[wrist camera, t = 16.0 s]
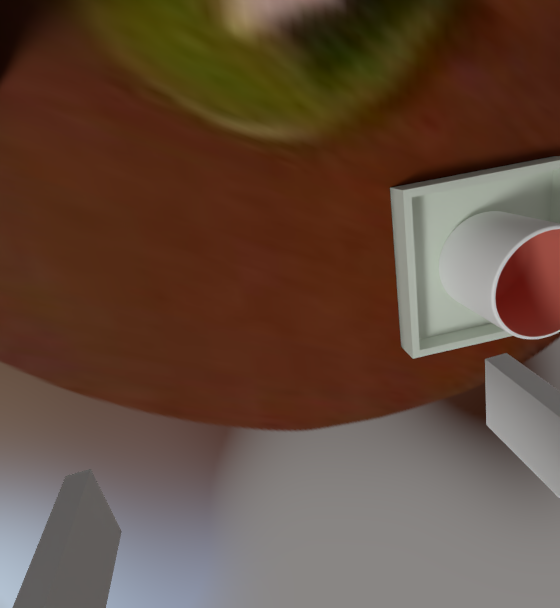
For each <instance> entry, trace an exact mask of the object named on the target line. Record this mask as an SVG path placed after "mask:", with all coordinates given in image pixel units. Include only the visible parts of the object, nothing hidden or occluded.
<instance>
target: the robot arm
mask: <svg viewBox="0 0 560 608" xmlns="http://www.w3.org/2000/svg"><path fill="white" fill-rule="evenodd" d="M485 375H486V424H487V426H488V427H489V428H490V429H491V430H492V431H493V432H494V433H495V434H496V435H497V436H498V437H499V438H500V439H501V440H502V441H503V442H504V443H505V444H506V445H507V446H508V447H509V448H510V449H511V450H512V451H513V452H514V453H515V454H516V455H517V456H518V457H519V458H520V459H521V460H522V461H523V462H524V463H525V464H526V465H527V466H528V467H529V468H530V469H531V470H532V471H533V472H534V473H535V474H536V475H537V476H538V477H539V478H540V479H541V480H542V481H543V482H544V483H545V484H546V485H547V486H548V487H549V488H550V489H551V490H552V491H553V492H554V493H555V494H556V495H557V496H558V497H559V498H560V391H559V390H558V389H556V388H555V387H554V386H552V385H551V384H549V383H548V382H546V381H545V380H544V379H542V378H541V377H539V376H538V375H537V374H535V373H534V372H532V371H531V370H530V369H528V368H527V367H525V366H524V365H522V364H521V363H520V362H518V361H517V360H515V359H514V358H513V357H511V356H510V355H508V354H507V353H505V354H502V355H498V356H495V357H491V358H487V359H485ZM120 536H121V529H120V527H119V525H118V523H117V521H116V520H115V517H114V515H113V513H112V511H111V509H110V507H109V505H108V503H107V501H106V499H105V497H104V495H103V493H102V491H101V489H100V487H99V485H98V483H97V481H96V479H95V477H94V475H93V473H92V471H91V469H89V470H86V471H82V472H79V473H75V474H72V475H68V476H66V477H65V479H64V482H63V484H62V487H61V489H60V492H59V494H58V497H57V499H56V502H55V504H54V507H53V509H52V512H51V514H50V517H49V519H48V521H47V524H46V527H45V529H44V531H43V534H42V537H41V539H40V542H39V544H38V546H37V549H36V551H35V554H34V556H33V559H32V561H31V564H30V566H29V568H28V571H27V573H26V576H25V578H24V581H23V583H22V586H21V588H20V591H19V593H18V596H17V598H16V601H15V603H14V606H13V608H106V604H107V599H108V594H109V589H110V584H111V579H112V575H113V570H114V565H115V560H116V555H117V550H118V546H119V540H120Z"/></svg>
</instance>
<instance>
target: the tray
mask: <svg viewBox="0 0 560 608" xmlns="http://www.w3.org/2000/svg"><path fill="white" fill-rule="evenodd" d="M390 193H391V208H392V222H393V236H394V251H395V265H396V279H397V293H398V308H399V322H400V336H401V347H402V348H403V349H404V350H405V351H406V352H407V353H408V354H409V355H410V356H411V357H412V358H417V357H422V356H426V355H431V354H435V353H439V352H444V351H448V350H452V349H457V348H461V347H465V346H470V345H474V344H479V343H483V342H487V341H492V340H496V339H500V338H505V337H509V336H513V335H511V334H509V333H508V332H506V331H504V330H503V329H501V328H500V327H498V326H496V325H495V324H493V323H491V322H490V321H488V320H486V319H485V318H483V317H482V316H480V315H478V314H477V313H475V312H473V311H472V310H470V309H468V308H467V307H465V306H464V305H462V304H460V303H459V302H457V301H455V300H454V299H453V298H452V297H451V296H450V295H449V294H448V293H447V292H446V290H445V289H444V287H443V285H442V283H441V280H440V276H439V258H440V254H441V251H442V248H443V246H444V243H445V242H446V240H447V238H448V237H449V235H450V234H451V233H452V231H453V230H454V229H455V228H456V227H457V226H458V225H460V224H461V223H462V222H463V221H465V220H466V219H468V218H470V217H472V216H474V215H476V214H479V213H483V212H489V211H501V212H506V213H511V214H516V215H521V216H525V217H530V218H535V219H540V220H545V221H549V222H554V223H559V224H560V156H553V157H548V158H542V159H537V160H532V161H527V162H522V163H516V164H511V165H506V166H501V167H495V168H490V169H485V170H480V171H475V172H469V173H464V174H459V175H454V176H449V177H443V178H438V179H433V180H428V181H422V182H417V183H412V184H407V185H402V186H396V187H391V188H390Z"/></svg>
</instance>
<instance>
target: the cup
mask: <svg viewBox="0 0 560 608" xmlns="http://www.w3.org/2000/svg"><path fill="white" fill-rule="evenodd" d="M439 276H440V280H441V283H442V285H443V287H444V289H445V290H446V292H447V293H448V294H449V295H450V296H451V297H452V298H453V299H454V300H455V301H457V302H459V303H460V304H462V305H464V306H465V307H467V308H468V309H470V310H472V311H473V312H475V313H477V314H478V315H480V316H482V317H483V318H485V319H486V320H488V321H490V322H491V323H493V324H495V325H496V326H498V327H500V328H501V329H503V330H504V331H506V332H508V333H509V334H511V335H513V336H516V337H519V338H523V339H540V338H545V337H548V336H551V335H554V334H556V333H558V332H560V224H559V223H554V222H549V221H545V220H540V219H535V218H530V217H525V216H521V215H516V214H511V213H506V212H501V211H489V212H483V213H479V214H476V215H474V216H472V217H470V218H468V219H466V220H465V221H463V222H462V223H461V224H460V225H458V226H457V227H456V228H455V229H454V230H453V231H452V233H451V234H450V235H449V237H448V238H447V240H446V242H445V243H444V246H443V248H442V251H441V254H440V258H439Z"/></svg>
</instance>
